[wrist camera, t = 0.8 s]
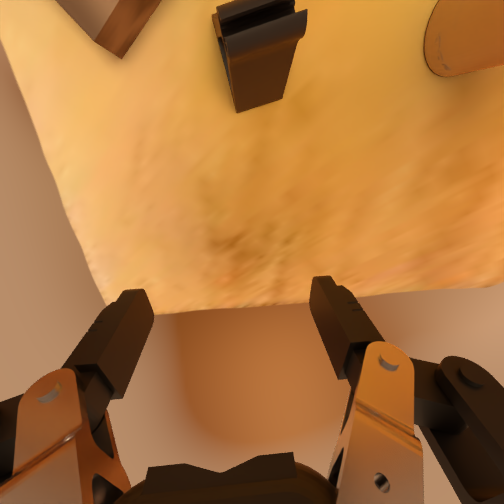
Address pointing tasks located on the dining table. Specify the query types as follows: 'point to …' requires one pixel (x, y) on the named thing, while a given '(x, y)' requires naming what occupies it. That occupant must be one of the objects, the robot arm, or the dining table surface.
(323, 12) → the dining table surface
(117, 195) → the dining table surface
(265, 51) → the phone stand
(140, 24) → the walnut block
